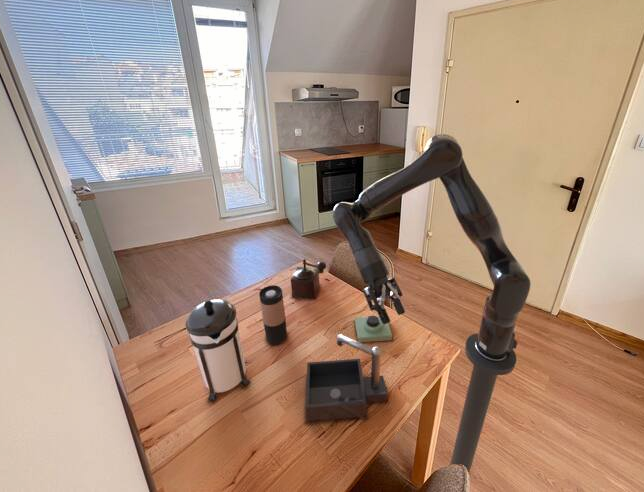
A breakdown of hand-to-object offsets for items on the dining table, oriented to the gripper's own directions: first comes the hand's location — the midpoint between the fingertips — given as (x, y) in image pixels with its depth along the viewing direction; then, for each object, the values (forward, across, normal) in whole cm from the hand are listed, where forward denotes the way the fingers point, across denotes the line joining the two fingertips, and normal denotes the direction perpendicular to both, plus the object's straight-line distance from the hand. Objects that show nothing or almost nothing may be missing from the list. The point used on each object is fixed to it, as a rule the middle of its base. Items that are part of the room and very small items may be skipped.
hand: (394, 318), depth 80 cm
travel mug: (-8, -4, +48) cm, 48 cm away
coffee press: (-3, -24, +51) cm, 57 cm away
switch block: (+4, +19, +24) cm, 31 cm away
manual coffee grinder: (-19, +21, +49) cm, 57 cm away
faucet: (+12, -2, +19) cm, 23 cm away
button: (+1, +18, +22) cm, 28 cm away
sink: (+15, -5, +23) cm, 28 cm away
